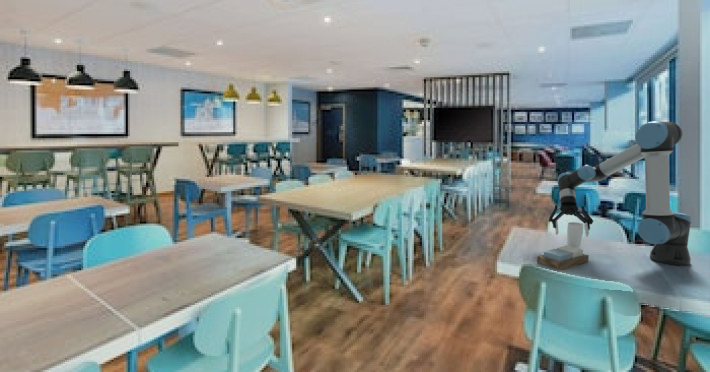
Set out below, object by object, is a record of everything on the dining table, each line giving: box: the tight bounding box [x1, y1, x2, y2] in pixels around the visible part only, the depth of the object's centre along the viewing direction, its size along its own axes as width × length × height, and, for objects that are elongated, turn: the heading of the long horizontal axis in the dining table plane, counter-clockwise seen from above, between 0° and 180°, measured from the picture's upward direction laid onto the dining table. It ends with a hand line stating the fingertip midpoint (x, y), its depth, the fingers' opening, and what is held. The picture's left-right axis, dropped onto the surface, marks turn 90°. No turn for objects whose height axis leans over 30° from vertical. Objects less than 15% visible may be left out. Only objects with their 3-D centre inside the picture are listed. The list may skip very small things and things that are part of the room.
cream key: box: [556, 245, 584, 258], centre depth 191 cm, size 8×8×3 cm
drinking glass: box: [566, 221, 584, 249], centre depth 201 cm, size 7×7×15 cm
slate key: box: [543, 248, 571, 262], centre depth 186 cm, size 8×8×3 cm
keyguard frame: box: [537, 253, 589, 271], centre depth 189 cm, size 12×22×3 cm, turn 122°
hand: (572, 234), depth 203 cm, fingers open, 13 cm apart
